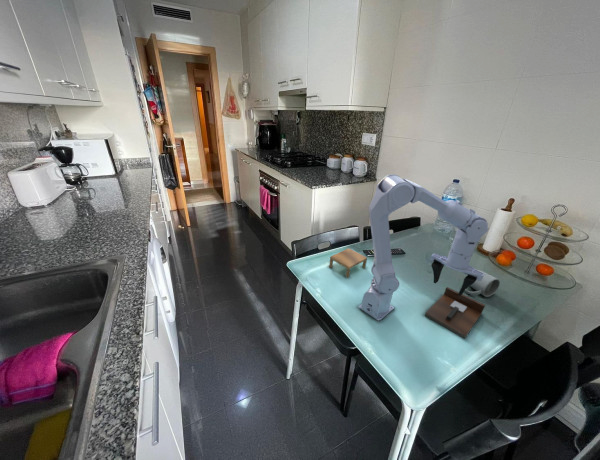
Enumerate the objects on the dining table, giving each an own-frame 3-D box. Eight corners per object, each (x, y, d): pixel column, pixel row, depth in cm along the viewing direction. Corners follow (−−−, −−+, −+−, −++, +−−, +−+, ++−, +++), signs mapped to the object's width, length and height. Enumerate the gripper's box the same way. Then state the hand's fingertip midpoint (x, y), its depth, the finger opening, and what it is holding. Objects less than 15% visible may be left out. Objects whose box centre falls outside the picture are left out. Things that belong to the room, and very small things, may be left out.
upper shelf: (347, 277, 99) (349, 267, 97) (329, 266, 105) (330, 256, 103) (365, 267, 106) (367, 257, 104) (347, 257, 113) (348, 248, 111)
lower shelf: (464, 338, 74) (469, 328, 72) (424, 315, 82) (427, 306, 80) (481, 314, 83) (485, 305, 82) (443, 295, 91) (447, 286, 90)
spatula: (454, 323, 77) (455, 320, 77) (441, 316, 80) (442, 313, 80) (466, 308, 84) (467, 305, 84) (454, 301, 87) (455, 298, 86)
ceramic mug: (475, 281, 100) (481, 265, 97) (495, 294, 93) (503, 277, 90) (455, 287, 97) (462, 270, 93) (475, 300, 90) (483, 283, 86)
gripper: (493, 257, 72) (477, 294, 78) (441, 238, 82) (430, 273, 88) (486, 265, 68) (469, 304, 74) (432, 244, 78) (421, 280, 83)
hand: (447, 287), depth 80 cm, fingers open, 7 cm apart
